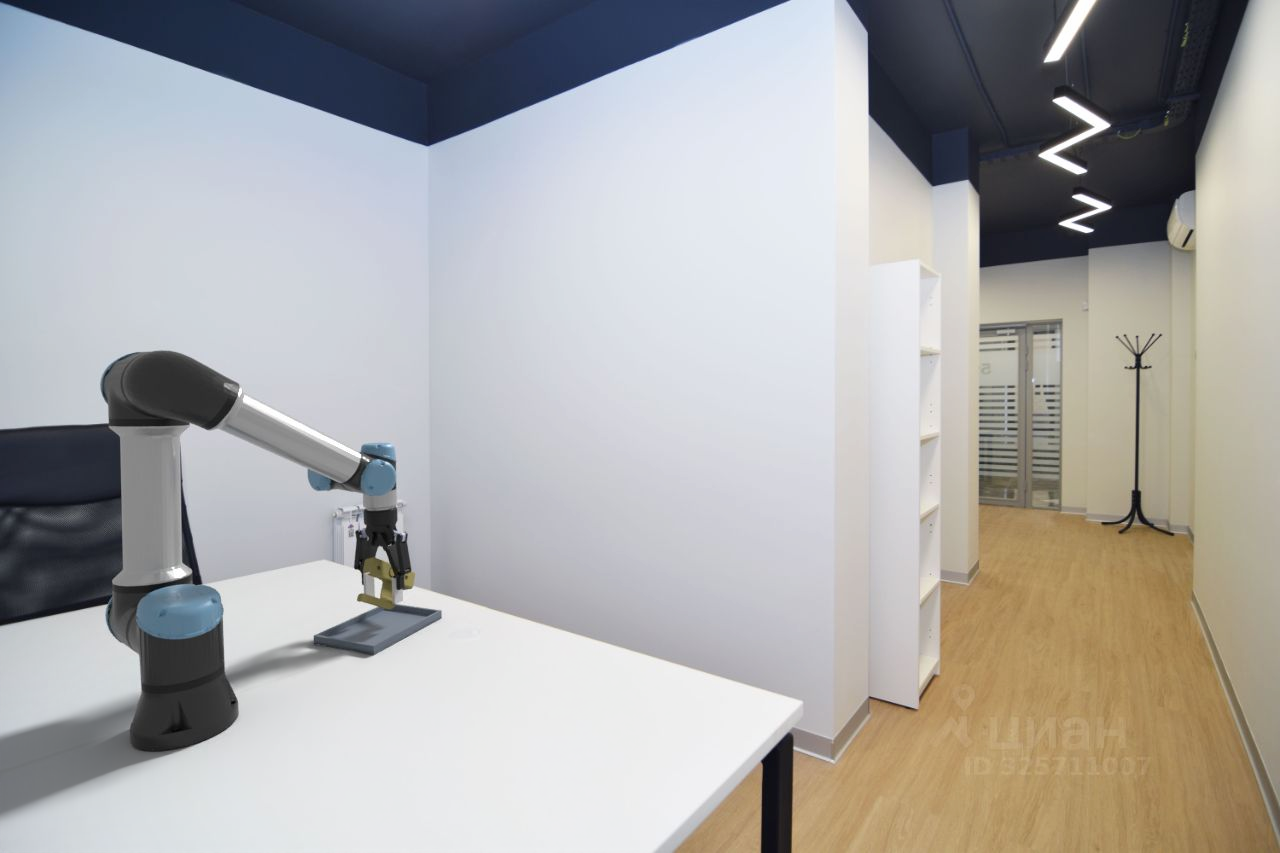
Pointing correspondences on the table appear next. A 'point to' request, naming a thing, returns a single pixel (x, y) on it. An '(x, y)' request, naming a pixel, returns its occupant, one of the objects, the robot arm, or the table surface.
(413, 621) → the tray
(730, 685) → the table surface
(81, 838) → the table surface
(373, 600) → the bracket
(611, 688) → the table surface
